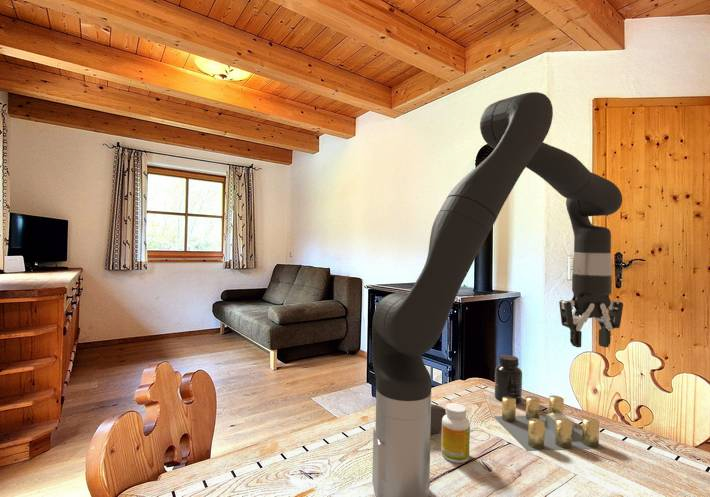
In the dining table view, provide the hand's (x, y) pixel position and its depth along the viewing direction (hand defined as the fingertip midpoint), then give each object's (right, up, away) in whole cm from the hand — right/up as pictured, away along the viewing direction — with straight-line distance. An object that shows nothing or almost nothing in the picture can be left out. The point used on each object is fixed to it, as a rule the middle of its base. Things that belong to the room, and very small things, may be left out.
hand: (590, 346), depth 83 cm
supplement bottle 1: (-34, -19, -10) cm, 40 cm away
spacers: (-10, -19, -1) cm, 22 cm away
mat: (-14, -19, -1) cm, 24 cm away
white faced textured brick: (-7, -19, -1) cm, 20 cm away
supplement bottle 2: (-12, -20, +17) cm, 28 cm away
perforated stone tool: (-39, -19, -2) cm, 44 cm away
